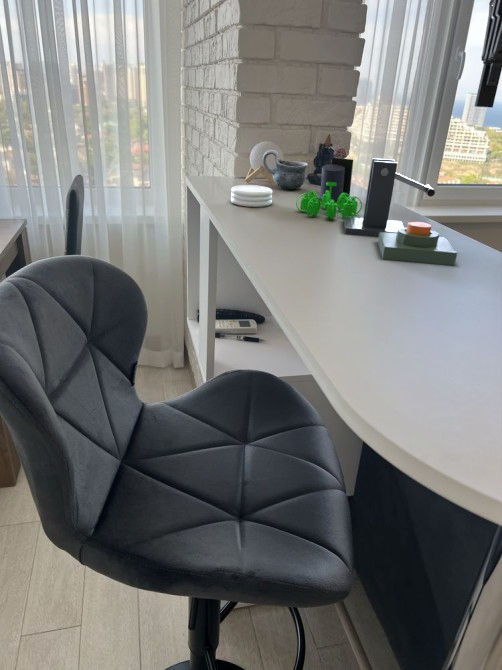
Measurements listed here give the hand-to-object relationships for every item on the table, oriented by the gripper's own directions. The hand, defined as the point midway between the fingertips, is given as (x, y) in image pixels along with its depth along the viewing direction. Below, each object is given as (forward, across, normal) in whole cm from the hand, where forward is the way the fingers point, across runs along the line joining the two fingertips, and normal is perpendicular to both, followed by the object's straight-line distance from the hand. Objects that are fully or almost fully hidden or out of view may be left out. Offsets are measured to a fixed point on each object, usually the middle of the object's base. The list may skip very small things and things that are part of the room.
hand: (483, 106), depth 89 cm
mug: (+24, -44, -37) cm, 63 cm away
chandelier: (+25, -16, -24) cm, 38 cm away
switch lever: (+15, -4, -11) cm, 19 cm away
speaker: (+25, -32, -23) cm, 46 cm away
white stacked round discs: (+24, -21, -43) cm, 54 cm away
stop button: (+21, +11, -9) cm, 25 cm away
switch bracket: (+24, -4, -15) cm, 29 cm away
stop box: (+24, +11, -9) cm, 28 cm away
